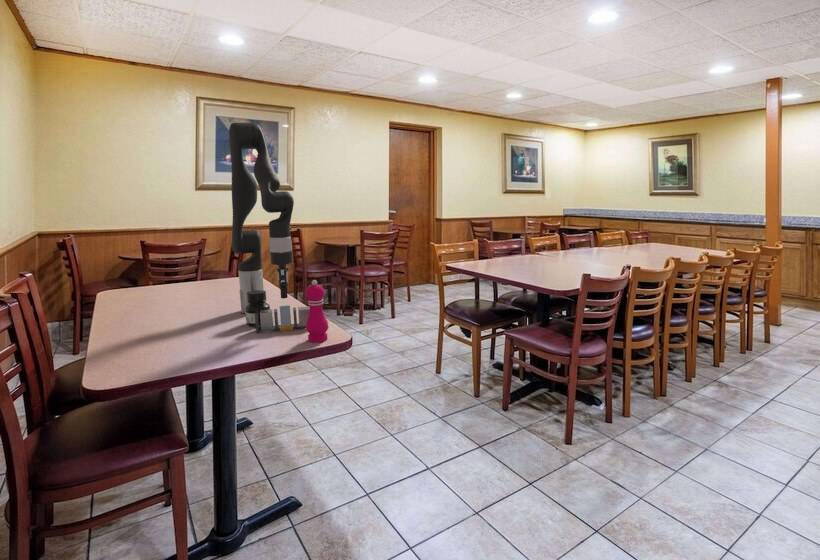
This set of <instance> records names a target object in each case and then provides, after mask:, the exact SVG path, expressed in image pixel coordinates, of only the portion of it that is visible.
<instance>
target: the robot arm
mask: <svg viewBox="0 0 820 560" xmlns="http://www.w3.org/2000/svg"><path fill="white" fill-rule="evenodd" d="M261 128H262V127H261V126H260V125H259V124H257V123H255V122H232V123H231V124H230V125H229V130H228V140H229V141H228V142H229V151H230V160H231V161H230V163H231V206H232V223H231V224H232V226H231V227H232V228H231V247H232V251H233V252H234V254H236V255H237V254H238V255H241V254H242V255H243V254H251V255H250V257H248V258H247V259H246V260H243V261H240V262H239V263H238V265H237V269H238V281H239V299H240V300H239V301H240V307H241V309H240V311H241V314H245V307H246V306H247V305H248V304H249V303H248V301H247V292H249V291H255V290H264V275H263V264H262V261H263V260H262V240H261V234H260V231H259V230H257V229H249V230H248V229H247V230H246V229H245V230H243V227H244V224H245V221H246V219H247V218H248V216H249V215H250V214H251V212H252V210H253V209H254V207H255V206H256V204H257V202H258V187H259V190H260V198H261V199H260V201H261V206H262V209H263V210H264V211H265V212H267V213H269V214H273V213H274V214H275V213H276V214H277V213H280V215H279V217H278V218H274V219H271V220H270V221H269V223H268V233H269V245H268V246H269V258H270V263H271V264H272V265H274V266H276V265H277V266H278V268H276V275H277V282H278V283H279V285H278V287H279V288H280V298H281V299H282V300H283V299H287V298H288V282H289V267H287V265H290V264H292V263H294V256H293V244H292V237H291V221H292V214H293V211H294V205H295V202H294V200H295V199H294V197H293V195H292V194H291V193H290V192H289V191H287V190H284V191H282V190H279V189H280V188H281V183H280V182H281V181H280V180H279V177H278V176H277V175H278V174H277V173H276V171H275V169H274V167H273V164H272V161H271V157H270V155H269V154H270V153H269V150H268V146H267V142H266V139H265V135H264V132H263V130H262V129H261ZM243 150H256V152H257V155H256V158H255V159H256V160H255V163H254V165H253V174H252V172H251V171H250V170H249V168H248V167H247V166H246V165H247V164H246V163H245V162H244V159H243V158H244V157H243ZM253 175H254V176H253ZM278 190H279V191H278ZM264 291H265V290H264Z"/></svg>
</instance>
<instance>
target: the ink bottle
mask: <svg viewBox="0 0 820 560" xmlns="http://www.w3.org/2000/svg"><path fill="white" fill-rule="evenodd" d="M247 301H248V303H249V304H248V305H247V306H246V307H245V313H244V314H245V323H246V325H247V326H251V327H256V324H255V311H258V313H259V325H260V327H261V321H260V310H270V309H271V305H270V304H269V303H268V302H267V291H266V290H255V291H249V292H247Z"/></svg>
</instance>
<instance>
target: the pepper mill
mask: <svg viewBox="0 0 820 560" xmlns="http://www.w3.org/2000/svg"><path fill="white" fill-rule="evenodd" d="M324 296H325V289H324V287H323V286H322V285H320V284H318V281H317V280H316V279H313V280H312V281H311V284H310V285H309V286H307V287H306V289H305V297H306V298H307V299H308V300H307V305H308V306H309V308H310V313H309V317H308V320H307V323H306V329H305V330H306V332H308V335H307V339H308V342H310V343H314V342H318V343H323V341H324V342H326V341H327V340H328V333H327V331H328V330H329V323H328V320H327V317H326V316H325V314H324V310H323V305H324V299H323V298H324Z"/></svg>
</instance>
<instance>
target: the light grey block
mask: <svg viewBox="0 0 820 560" xmlns="http://www.w3.org/2000/svg"><path fill="white" fill-rule="evenodd" d="M279 315H280V325H281V326H290V325H291V324H292V318H291V317H292V315H291V305H290V304H284V305H283V304H282V305H279Z"/></svg>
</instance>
